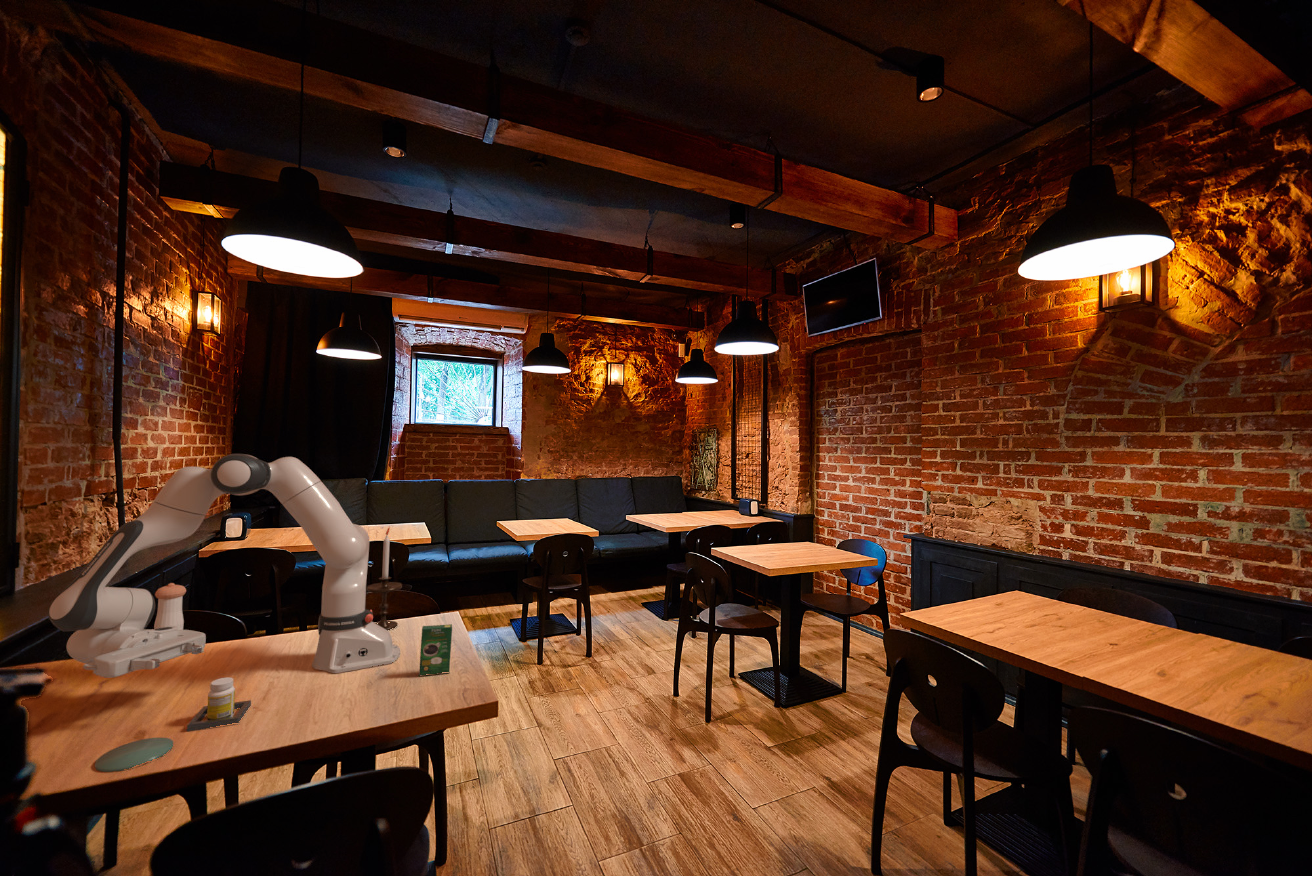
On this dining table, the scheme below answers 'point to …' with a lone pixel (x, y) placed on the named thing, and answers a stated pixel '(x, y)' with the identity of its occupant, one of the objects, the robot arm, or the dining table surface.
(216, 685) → the supplement bottle
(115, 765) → the green coaster
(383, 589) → the candlestick
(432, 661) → the coffee box
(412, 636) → the dining table surface
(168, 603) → the pepper shaker
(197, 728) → the square metal frame
